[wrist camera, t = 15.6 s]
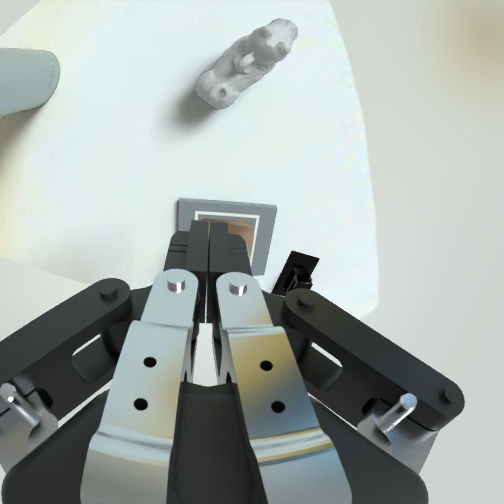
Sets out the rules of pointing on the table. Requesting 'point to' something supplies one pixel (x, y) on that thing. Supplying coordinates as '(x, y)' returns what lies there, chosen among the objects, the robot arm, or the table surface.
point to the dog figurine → (246, 63)
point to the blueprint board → (236, 211)
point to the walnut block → (238, 231)
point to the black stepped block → (295, 273)
